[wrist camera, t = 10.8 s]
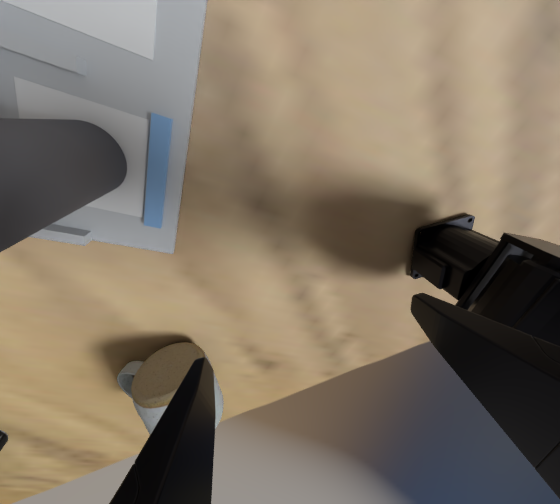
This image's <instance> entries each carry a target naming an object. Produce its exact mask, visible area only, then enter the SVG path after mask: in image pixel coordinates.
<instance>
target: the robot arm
mask: <svg viewBox="0 0 560 504" xmlns="http://www.w3.org/2000/svg"><path fill="white" fill-rule="evenodd" d="M474 219H475V217H474V216H472V215H465V216H461V217H457V218H454V219H450V220H446V221H443V222H439V223H435V224H432V225H428V226H424V227H421V228H418V229H417V230H416V232H415V239H414V247H413V256H412V265H411V274H410V275H411V277H412V278H413V279H417V278H421V277H424V278H425V279H427V280H428V281H429V282H431V283H432V284H433V285H434V286H436V287H437V288H438V289H444V290H445V291H446V292H448V293H449V294H450V295H452V296H453V297H454V298H456V299H457V300H459V301H458V302H457V303H456V305H453V304H450V303H447V302H445V301H442V300H440V299H437V298H435V297H432V296H430V295H427V294H425V293H419V294H416V295H413V297H412V302H411V312H412V314H413V316H414V317H415V319H416V320H417V322H418V323H419V325H420V326H421V328H422V329H423V331H424V332H425V334H426V335H427V337H428V338H429V340H430V341H431V343H432V344H433V345H434V347H435V348H436V349H437V350H438V352H439V353H440V354H441V355H442V357H443V358H444V359H445V360H446V361H447V363H448V364H449V365H450V366H451V367H452V369H453V370H454V371H455V372H456V374H457V375H458V376H459V377H460V378H461V380H463V382H464V383H465V384H466V386H467V387H468V388H469V389H470V390H471V392H472V393H473V394H474V395H475V397H476V398H477V399H478V400H479V401H480V403H481V404H482V405H483V406H484V407H485V409H486V410H487V411H488V412H489V413H490V415H491V416H492V417H493V418H494V420H495V421H496V422H497V423H498V424H499V426H500V427H501V428H502V429H503V430H504V432H505V433H506V434H507V435H508V437H509V438H510V439H511V440H512V441H513V443H514V444H515V445H516V446H517V447H518V449H519V450H520V451H521V452H522V453H523V455H524V456H525V457H526V458H527V460H528V461H529V462H530V463H531V464H532V465H533V467H535V469H536V471H537V472H538V473H539V474H540V476H541V477H542V478H543V479H544V480H545V482H546V483H547V484H548V485H549V486H550V488H551V489H552V490H553V491H554V492H555V494H556V495H557V496H558V497H559V499H560V246H559V245H556V244H553V243H550V242H547V241H544V240H541V239H536V238H531V237H525V236H520V235H515V234H509V233H504V234H503V235H502V237H501V238H500V239H501V240H500V242H499V241H497V240H495V239H492V238H490V237H488V236H485V235H483V234H480V233H478V232H476V231H473V230H472V227H473V223H474ZM215 419H216V409H215V389H214V372H213V368H212V366H211V365H210V363H209V361H208V359H207V358H206V357H201V358H198V359H195V360H194V362H193V363H192V365H191V367H190V368H189V370H188V372H187V374H186V375H185V377H184V379H183V380H182V382H181V384H180V385H179V387H178V389H177V391H176V392H175V394H174V396H173V397H172V399H171V401H170V402H169V404H168V406H167V408H166V409H165V411H164V413H163V414H162V416H161V418H160V419H159V421H158V423H157V425H156V426H155V428H154V430H153V431H152V433H151V435H150V436H149V438H148V440H147V442H146V443H145V445H144V447H143V448H142V450H141V452H140V454H139V455H138V457H137V459H136V460H135V464H133V465H132V467H131V469H130V471H129V472H128V474H127V475H126V477H125V479H124V481H123V482H122V484H121V486H120V487H119V489H118V490H117V492H116V494H115V495H114V497H113V499H112V500H111V502H110V503H109V504H211V495H212V476H213V457H214V438H215Z"/></svg>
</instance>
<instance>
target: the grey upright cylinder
mask: <svg viewBox="0 0 560 504" xmlns="http://www.w3.org/2000/svg"><path fill="white" fill-rule="evenodd" d="M126 173H127V162H126V158H125V155H124V153H123V151H122V149H121V147H120V146H119V144H118V143H117V142H116V140H115V139H114V138H113V137H112V136H111V135H110V134H108V133H107V132H106V131H105V130H103V129H102V128H100V127H98V126H96V125H94V124H92V123H89V122H86V121H82V120H66V119H14V118H0V252H1V251H3V250H5V249H7V248H9V247H11V246H12V245H14V244H16V243H18V242H20V241H21V240H23V239H25V238H27V237H29V236H31V235H32V234H34V233H36V232H38V231H40V230H41V229H43V228H45V227H47V226H49V225H51V224H52V223H54V222H56V221H58V220H60V219H61V218H63V217H65V216H67V215H69V214H71V213H72V212H74V211H76V210H78V209H80V208H82V207H83V206H85V205H87V204H89V203H91V202H92V201H94V200H96V199H98V198H100V197H102V196H103V195H105V194H107V193H109V192H111V191H112V190H114V189H116V188H118V187H119V186H120V185H121V184H122V183H123V181H124V179H125V177H126Z"/></svg>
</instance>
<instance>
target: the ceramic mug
mask: <svg viewBox="0 0 560 504" xmlns="http://www.w3.org/2000/svg"><path fill="white" fill-rule="evenodd" d="M201 357H206V358H207V359H208V357H207V355H206V354H205V352H204V351H203V350H202V349H201V348H200V347H199V346H197V345H195V344H192V343H188V342H181V343H175V344H171V345H168V346H166V347H164V348H162V349H160V350H158V351H156V352H155V353H154V354H152V355H151V356H150V357H149V358H148V359H147V360H146V361H145V362H144V361H131V362H129V363H128V364H127V365H126V366H125V367H124V368H123V369H122V370H121V371H120V373H119V374H118V376H117V381H118V383H119V385H120V387H121V388H122V390H123V391H124V392H125V393H126V394H127V395H128V396H130V397H131V398H132V399H133V403H134V406H135V408H136V410H137V412H138V414H139V416H140V417H141V419H142V420H143V422H144V424H145V426H146V428H147V430H148V432H149V434H150V435H151V433H152V431H153V430H154V428H155V426H156V425H157V423H158V421H159V419H160V418H161V416H162V414H163V413H164V411H165V409H166V408H167V406H168V404H169V402H170V401H171V399H172V397H173V396H174V394H175V392H176V391H177V389H178V387H179V385H180V384H181V382H182V380H183V379H184V377H185V375H186V374H187V372H188V370H189V368H190V367H191V365H192V363H193V362H194V360H195V359H198V358H201ZM208 361H209V359H208ZM209 363H210V361H209ZM210 365H211V363H210ZM133 375H135V376H134V377H133ZM214 389H215V409H216V419H215V429H216V426H217V425H218V423H219V421H220V419H221V416H222V412H223V402H224V401H223V395H222V392H221V389H220V387H219V384H218V381H217V379H216V376H215V374H214Z"/></svg>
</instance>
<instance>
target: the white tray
mask: <svg viewBox="0 0 560 504" xmlns="http://www.w3.org/2000/svg"><path fill="white" fill-rule="evenodd" d="M207 1H208V0H0V118H14V119H66V120H82V121H86V122H89V123H92V124H94V125H96V126H98V127H100V128H102V129H103V130H105V131H106V132H107V133H108V134H110V135H111V136H112V137H113V138H114V139H115V140H116V142H117V143H118V144H119V146H120V147H121V149H122V151H123V153H124V155H125V158H126V162H127V173H126V177H125V179H124V181H123V183H122V184H121V185H120V186H119V187H118V188H116V189H114V190H112V191H111V192H109V193H107V194H105V195H103V196H102V197H100V198H98V199H96V200H94V201H92V202H91V203H89V204H87V205H85V206H83V207H82V208H80V209H78V210H76V211H74V212H72V213H71V214H69V215H67V216H65V217H63V218H61V219H60V220H58V221H56V222H54V223H52V224H51V225H49V226H47V227H45V228H43V229H41V230H40V231H38V232H36V233H34V234H32V235H31V236H29V237H34V238H40V239H46V240H52V241H58V242H64V243H71V244H77V245H83V246H85V245H86V244H88V243H89V242H90V241H91V240H93V241H99V242H105V243H111V244H117V245H123V246H129V247H135V248H141V249H147V250H152V251H158V252H164V253H170V254H173V253H174V249H175V242H176V234H177V227H178V219H179V212H180V204H181V196H182V189H183V181H184V174H185V166H186V159H187V151H188V144H189V136H190V129H191V121H192V114H193V106H194V99H195V91H196V83H197V76H198V68H199V61H200V53H201V46H202V38H203V31H204V23H205V16H206V8H207Z"/></svg>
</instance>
